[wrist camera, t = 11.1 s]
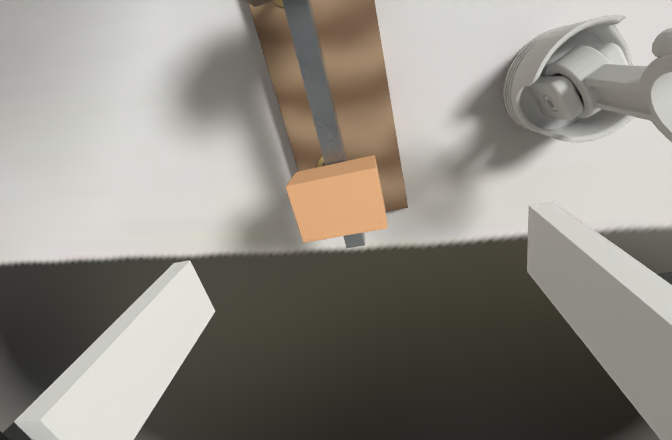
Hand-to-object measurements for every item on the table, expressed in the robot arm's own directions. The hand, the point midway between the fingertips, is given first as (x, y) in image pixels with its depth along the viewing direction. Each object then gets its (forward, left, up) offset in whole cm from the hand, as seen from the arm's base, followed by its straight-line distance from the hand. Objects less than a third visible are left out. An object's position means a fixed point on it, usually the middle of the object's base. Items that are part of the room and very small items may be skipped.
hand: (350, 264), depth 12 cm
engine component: (-1, +21, -27) cm, 34 cm away
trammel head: (+2, -2, -25) cm, 25 cm away
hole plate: (-6, -2, -27) cm, 28 cm away
